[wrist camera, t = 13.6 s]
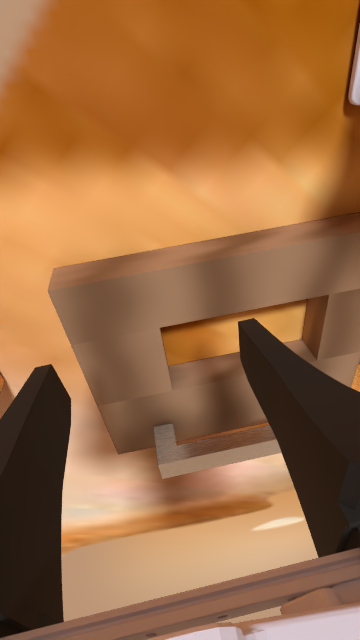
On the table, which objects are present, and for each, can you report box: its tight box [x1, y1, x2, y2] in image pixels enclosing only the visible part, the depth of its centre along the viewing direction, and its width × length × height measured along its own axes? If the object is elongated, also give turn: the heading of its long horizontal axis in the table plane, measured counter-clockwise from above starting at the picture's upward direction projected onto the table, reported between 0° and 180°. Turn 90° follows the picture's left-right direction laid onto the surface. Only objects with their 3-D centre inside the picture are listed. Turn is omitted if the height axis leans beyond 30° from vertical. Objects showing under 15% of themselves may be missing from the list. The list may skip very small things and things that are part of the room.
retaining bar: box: [154, 423, 282, 479], centre depth 26 cm, size 15×2×3 cm, turn 97°
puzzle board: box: [48, 212, 360, 454], centre depth 25 cm, size 20×16×2 cm
